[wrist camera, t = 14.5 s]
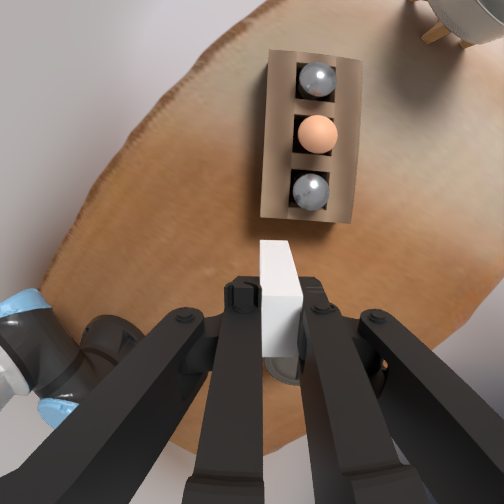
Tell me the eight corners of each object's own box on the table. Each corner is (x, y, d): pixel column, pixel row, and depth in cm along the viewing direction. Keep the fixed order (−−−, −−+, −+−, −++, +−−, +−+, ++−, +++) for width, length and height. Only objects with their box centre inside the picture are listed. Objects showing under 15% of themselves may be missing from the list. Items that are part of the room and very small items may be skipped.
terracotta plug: (292, 150, 39) (297, 151, 33) (294, 118, 38) (299, 113, 31) (324, 153, 39) (336, 155, 33) (326, 121, 38) (338, 117, 31)
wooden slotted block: (261, 207, 45) (260, 217, 40) (268, 61, 38) (268, 49, 32) (340, 213, 45) (350, 223, 39) (350, 70, 37) (362, 60, 32)
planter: (475, 27, 31) (535, 4, 14) (452, 68, 35) (520, 50, 18) (421, -22, 29) (469, -64, 12) (392, 16, 33) (443, -29, 16)
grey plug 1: (294, 101, 39) (299, 93, 32) (295, 72, 37) (300, 59, 30) (325, 105, 39) (336, 98, 32) (326, 76, 37) (337, 64, 30)
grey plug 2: (288, 198, 44) (292, 209, 37) (290, 168, 42) (294, 172, 35) (318, 200, 43) (327, 211, 37) (321, 170, 42) (331, 176, 35)
